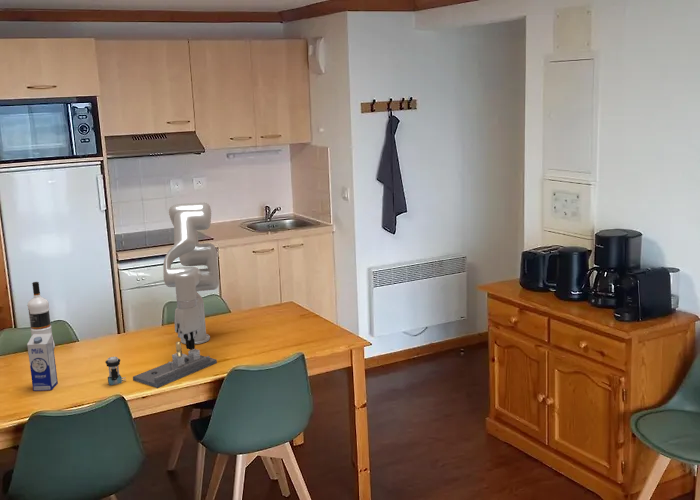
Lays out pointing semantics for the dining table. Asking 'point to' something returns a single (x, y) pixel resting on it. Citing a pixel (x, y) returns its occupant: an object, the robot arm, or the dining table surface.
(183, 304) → the robot arm
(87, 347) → the dining table surface
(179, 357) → the sliding leg
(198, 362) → the bolt plate
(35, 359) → the milk carton
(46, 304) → the vodka
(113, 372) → the push button
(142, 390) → the dining table surface
